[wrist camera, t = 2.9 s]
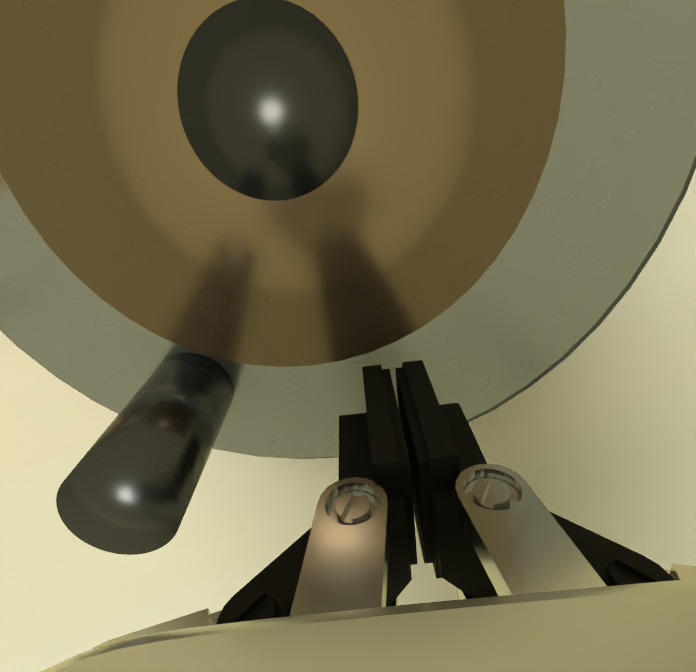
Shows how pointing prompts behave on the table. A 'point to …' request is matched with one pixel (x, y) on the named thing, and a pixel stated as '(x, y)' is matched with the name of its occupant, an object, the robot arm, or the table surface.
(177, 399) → the turntable
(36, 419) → the table surface
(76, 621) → the table surface
